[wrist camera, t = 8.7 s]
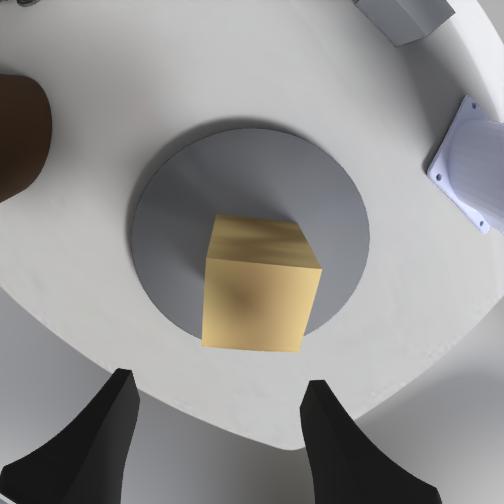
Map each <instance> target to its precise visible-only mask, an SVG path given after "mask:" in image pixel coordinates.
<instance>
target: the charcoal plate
mask: <svg viewBox="0 0 504 504" xmlns="http://www.w3.org/2000/svg"><path fill="white" fill-rule="evenodd" d="M216 214H220V215H230V216H239V217H248V218H257V219H266V220H275V221H283V222H291V223H298V225H299V227H300V228H301V230H302V232H303V234H304V236H305V238H306V239H307V241H308V243H309V245H310V247H311V249H312V251H313V252H314V254H315V256H316V258H317V260H318V262H319V264H320V266H321V268H322V272H321V276H320V280H319V284H318V287H317V291H316V295H315V298H314V302H313V305H312V309H311V312H310V316H309V319H308V322H307V326H306V329H305V332H304V335H303V336H305V335H307V334H309V333H311V332H312V331H314V330H316V329H318V328H319V327H320V326H322V325H323V324H324V323H326V322H327V321H329V320H330V319H331V318H332V317H333V316H334V315H335V314H336V313H337V312H338V311H339V310H340V309H341V308H342V307H343V306H344V305H345V303H346V302H347V301H348V300H349V298H350V297H351V295H352V294H353V292H354V291H355V289H356V287H357V285H358V283H359V281H360V279H361V277H362V274H363V271H364V269H365V266H366V262H367V257H368V252H369V240H370V235H369V222H368V217H367V212H366V208H365V206H364V203H363V200H362V197H361V195H360V193H359V191H358V189H357V187H356V186H355V184H354V182H353V180H352V179H351V178H350V176H349V175H348V174H347V172H346V171H345V170H344V169H343V168H342V167H341V166H340V165H339V164H338V163H337V162H336V161H335V160H334V159H333V158H332V157H331V156H330V155H328V154H327V153H326V152H324V151H323V150H321V149H320V148H319V147H317V146H315V145H313V144H311V143H309V142H308V141H306V140H304V139H301V138H299V137H296V136H293V135H290V134H287V133H284V132H278V131H273V130H268V129H252V128H246V129H236V130H229V131H225V132H221V133H217V134H213V135H211V136H208V137H206V138H203V139H201V140H198V141H196V142H194V143H192V144H191V145H189V146H187V147H186V148H184V149H182V150H181V151H179V152H178V153H177V154H175V155H174V156H173V157H172V158H170V159H169V160H168V161H167V162H166V163H165V164H164V165H163V166H162V167H161V168H160V169H159V170H158V171H157V172H156V174H155V175H154V176H153V177H152V179H151V180H150V182H149V183H148V185H147V186H146V188H145V190H144V192H143V194H142V196H141V198H140V200H139V202H138V205H137V209H136V212H135V215H134V219H133V226H132V233H131V248H132V255H133V262H134V265H135V269H136V272H137V275H138V278H139V280H140V282H141V284H142V287H143V289H144V290H145V292H146V294H147V295H148V297H149V298H150V300H151V301H152V302H153V304H154V305H155V306H156V307H157V309H158V310H159V311H160V312H161V313H162V314H163V315H164V316H165V317H166V318H167V319H168V320H170V321H171V322H172V323H174V324H175V325H176V326H178V327H179V328H181V329H182V330H184V331H186V332H187V333H189V334H191V335H193V336H195V337H197V338H199V339H202V325H203V303H204V284H205V268H206V257H207V252H208V248H209V244H210V239H211V235H212V231H213V227H214V222H215V218H216Z"/></svg>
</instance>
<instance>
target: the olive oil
mask: <svg viewBox="0 0 504 504" xmlns="http://www.w3.org/2000/svg"><path fill="white" fill-rule="evenodd" d="M51 132H52V120H51V111H50V106H49V102H48V99H47V97H46V94H45V92H44V91H43V89H42V88H41V86H40V85H39V84H38V83H37V82H35V81H34V80H32V79H30V78H28V77H24V76H16V75H6V74H0V203H1V202H3V201H5V200H7V199H8V198H10V197H12V196H14V195H16V194H18V193H20V192H21V191H23V190H25V189H26V188H27V187H29V186H30V185H31V184H32V183H33V182H34V181H35V179H36V178H37V177H38V175H39V174H40V172H41V170H42V168H43V166H44V163H45V161H46V158H47V155H48V151H49V147H50V141H51Z"/></svg>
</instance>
